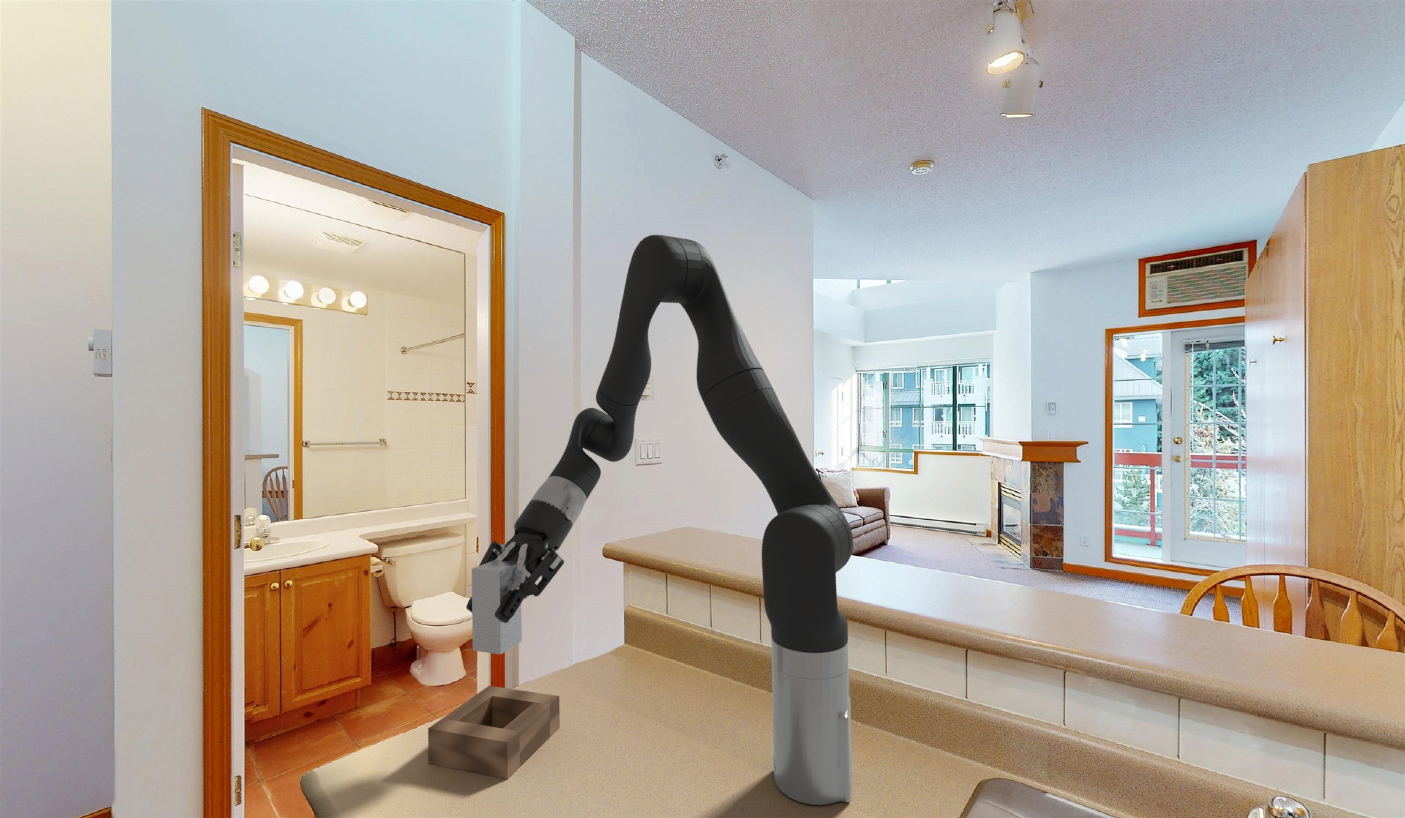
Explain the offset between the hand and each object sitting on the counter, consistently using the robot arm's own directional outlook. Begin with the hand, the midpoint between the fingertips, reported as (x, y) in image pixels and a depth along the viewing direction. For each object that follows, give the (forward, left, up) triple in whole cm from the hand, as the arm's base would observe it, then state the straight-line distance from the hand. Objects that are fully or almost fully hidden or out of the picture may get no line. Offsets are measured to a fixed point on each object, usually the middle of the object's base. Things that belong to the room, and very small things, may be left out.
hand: (486, 615), depth 75 cm
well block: (0, -2, -18) cm, 18 cm away
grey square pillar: (0, -2, -5) cm, 5 cm away
